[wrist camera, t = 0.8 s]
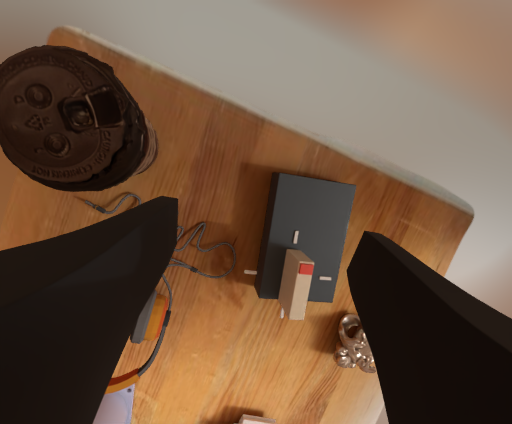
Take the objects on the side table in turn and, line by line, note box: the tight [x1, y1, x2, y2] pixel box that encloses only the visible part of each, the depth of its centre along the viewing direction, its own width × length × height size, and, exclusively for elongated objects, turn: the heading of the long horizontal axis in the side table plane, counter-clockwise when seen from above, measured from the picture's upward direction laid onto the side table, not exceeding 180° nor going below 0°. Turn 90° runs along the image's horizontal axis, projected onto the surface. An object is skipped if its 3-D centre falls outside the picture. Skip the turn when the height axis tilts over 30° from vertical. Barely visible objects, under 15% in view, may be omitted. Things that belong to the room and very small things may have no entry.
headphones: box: [85, 194, 236, 394], centre depth 27 cm, size 17×5×20 cm
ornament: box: [333, 314, 376, 373], centre depth 33 cm, size 8×7×4 cm
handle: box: [278, 249, 314, 320], centre depth 27 cm, size 6×2×4 cm, turn 171°
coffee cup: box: [0, 45, 158, 192], centre depth 20 cm, size 9×8×13 cm
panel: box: [244, 173, 356, 318], centre depth 30 cm, size 16×11×3 cm
